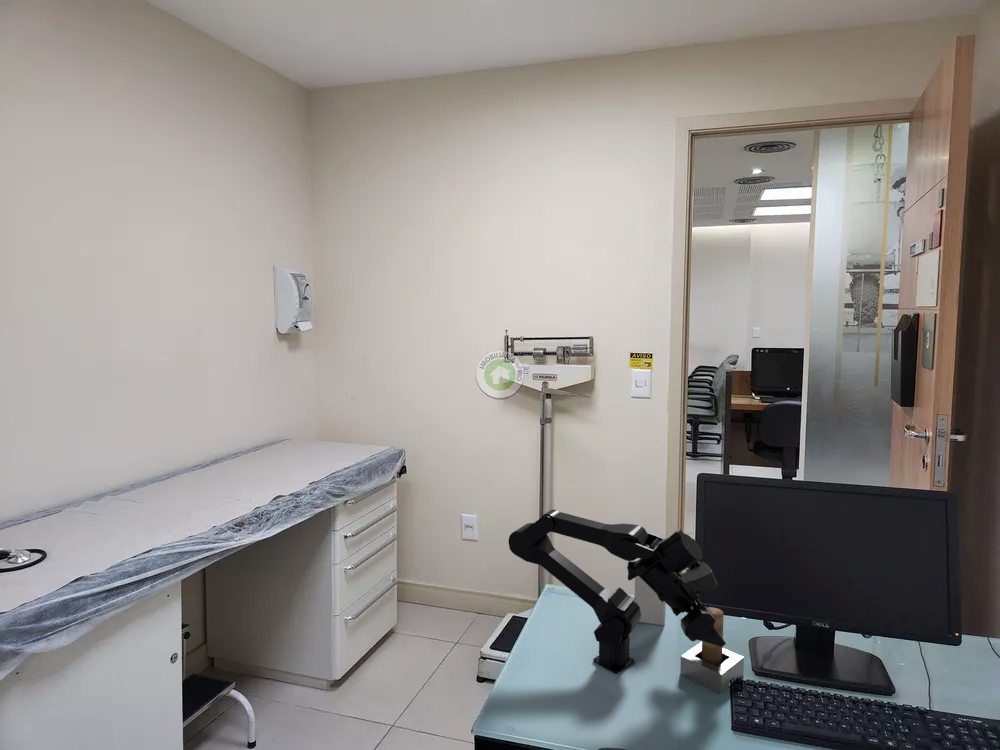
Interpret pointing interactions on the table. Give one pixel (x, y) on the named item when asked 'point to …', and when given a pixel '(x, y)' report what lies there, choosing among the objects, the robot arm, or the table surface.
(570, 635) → the table surface
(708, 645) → the peg
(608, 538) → the robot arm
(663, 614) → the milk carton
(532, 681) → the table surface
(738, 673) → the socket block
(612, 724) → the table surface
